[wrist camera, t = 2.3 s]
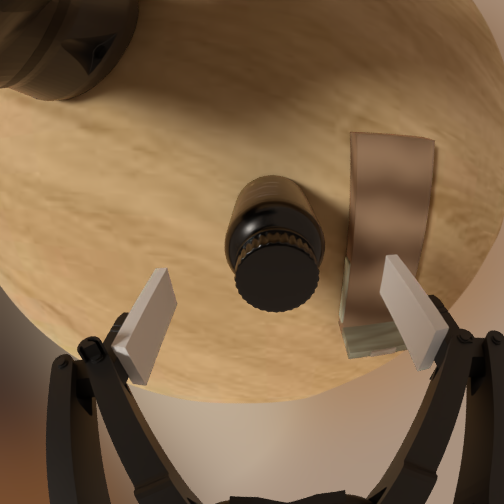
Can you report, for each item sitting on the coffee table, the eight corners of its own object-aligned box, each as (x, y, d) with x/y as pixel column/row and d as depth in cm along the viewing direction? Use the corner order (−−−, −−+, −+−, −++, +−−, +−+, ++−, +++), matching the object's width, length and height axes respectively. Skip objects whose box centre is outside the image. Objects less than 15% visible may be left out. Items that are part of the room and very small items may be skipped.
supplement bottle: (320, 220, 26) (354, 297, 16) (259, 252, 28) (257, 341, 18) (284, 158, 24) (303, 201, 13) (220, 196, 26) (190, 263, 15)
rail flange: (348, 131, 22) (373, 139, 17) (425, 137, 21) (462, 148, 16) (337, 322, 33) (347, 360, 27) (397, 315, 32) (414, 349, 26)
